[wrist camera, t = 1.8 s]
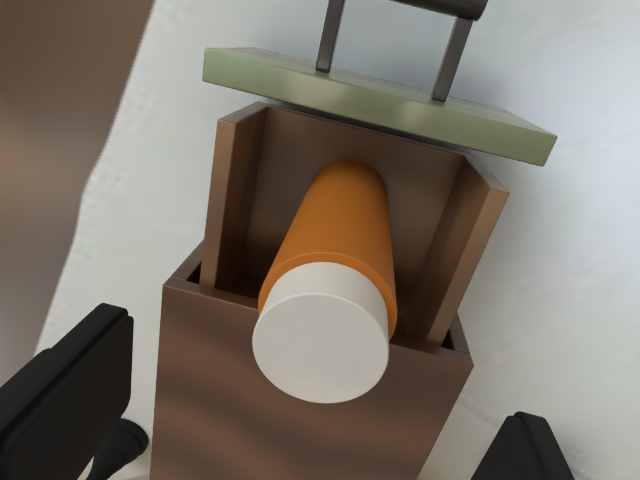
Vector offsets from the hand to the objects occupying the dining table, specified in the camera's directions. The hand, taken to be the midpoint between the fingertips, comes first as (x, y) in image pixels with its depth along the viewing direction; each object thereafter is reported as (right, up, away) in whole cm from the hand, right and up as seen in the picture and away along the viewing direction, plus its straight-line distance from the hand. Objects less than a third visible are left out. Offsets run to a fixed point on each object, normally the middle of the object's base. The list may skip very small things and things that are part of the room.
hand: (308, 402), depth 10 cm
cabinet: (0, -3, +20) cm, 20 cm away
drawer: (+2, +8, +13) cm, 16 cm away
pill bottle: (+2, +6, +13) cm, 15 cm away
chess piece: (-17, -13, +27) cm, 34 cm away
